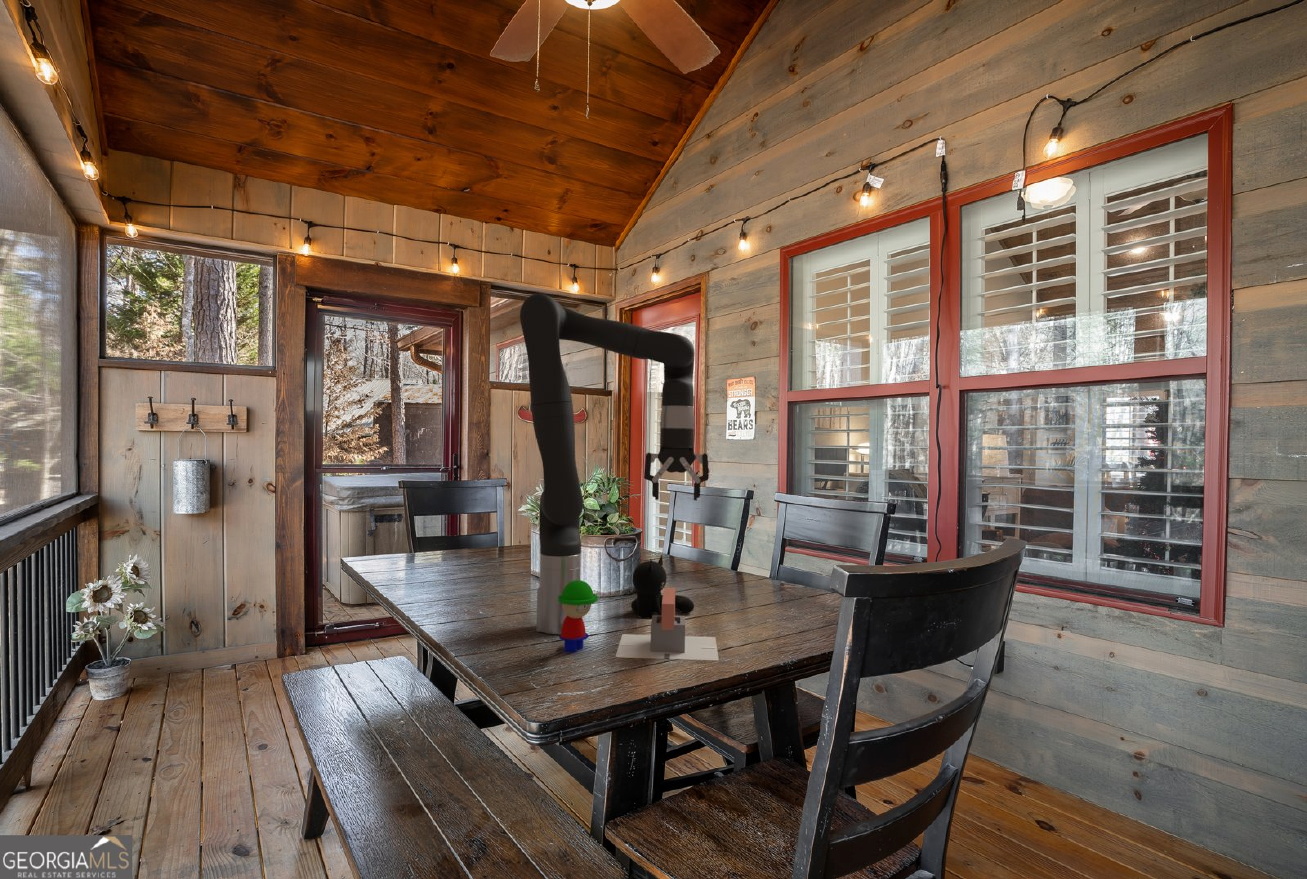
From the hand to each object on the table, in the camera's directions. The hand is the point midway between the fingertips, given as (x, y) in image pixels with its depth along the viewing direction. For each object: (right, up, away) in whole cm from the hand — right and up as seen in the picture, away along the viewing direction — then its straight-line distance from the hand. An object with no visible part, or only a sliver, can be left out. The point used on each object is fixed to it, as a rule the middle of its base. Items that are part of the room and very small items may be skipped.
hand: (675, 499), depth 146 cm
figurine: (-3, -30, +18) cm, 36 cm away
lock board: (-2, -30, -12) cm, 32 cm away
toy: (-20, -30, -15) cm, 39 cm away
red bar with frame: (-2, -29, -12) cm, 31 cm away
